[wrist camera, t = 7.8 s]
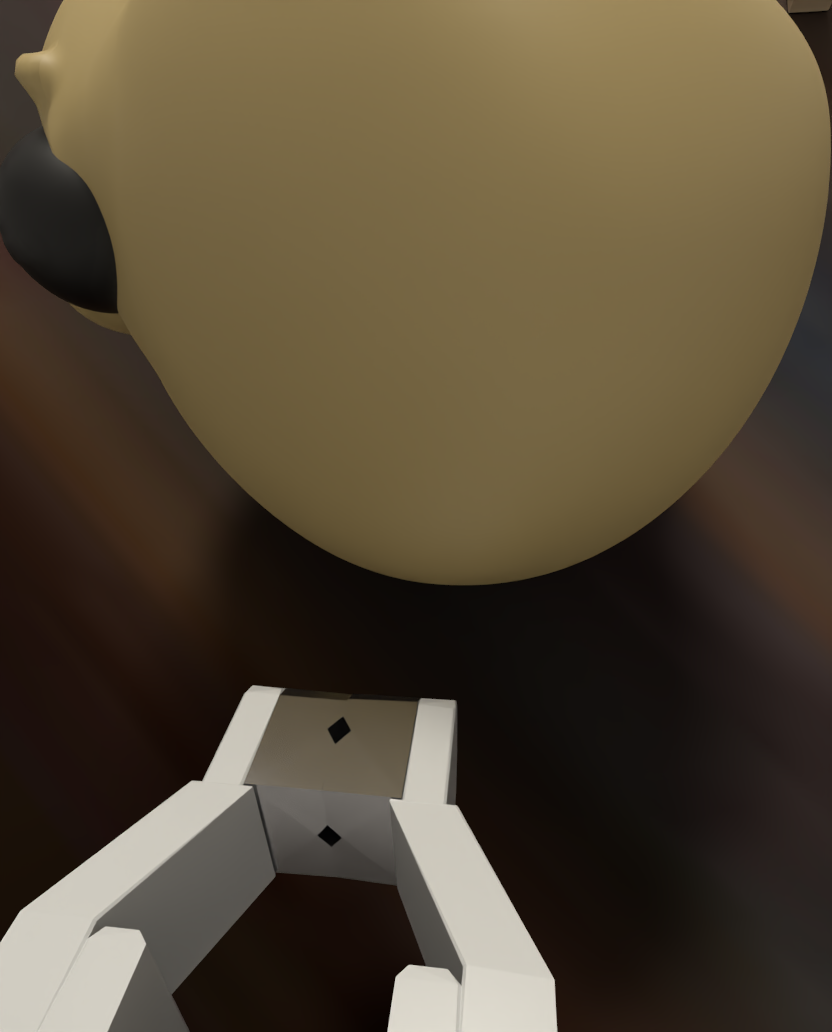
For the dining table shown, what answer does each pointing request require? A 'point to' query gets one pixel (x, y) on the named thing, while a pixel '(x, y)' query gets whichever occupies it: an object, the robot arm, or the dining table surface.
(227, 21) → the yellow animal toy
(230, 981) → the dining table surface
